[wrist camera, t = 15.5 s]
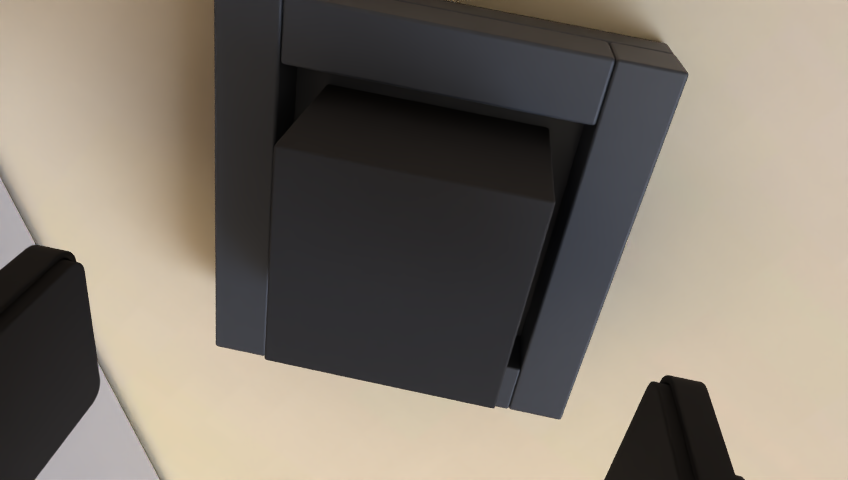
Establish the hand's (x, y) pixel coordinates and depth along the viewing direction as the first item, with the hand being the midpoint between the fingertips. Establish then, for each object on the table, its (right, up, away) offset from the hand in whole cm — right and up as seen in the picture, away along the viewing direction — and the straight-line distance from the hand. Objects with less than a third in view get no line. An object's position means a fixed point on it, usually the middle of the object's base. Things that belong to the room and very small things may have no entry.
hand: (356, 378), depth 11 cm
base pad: (+1, +4, +7) cm, 8 cm away
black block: (+1, +3, +6) cm, 7 cm away
